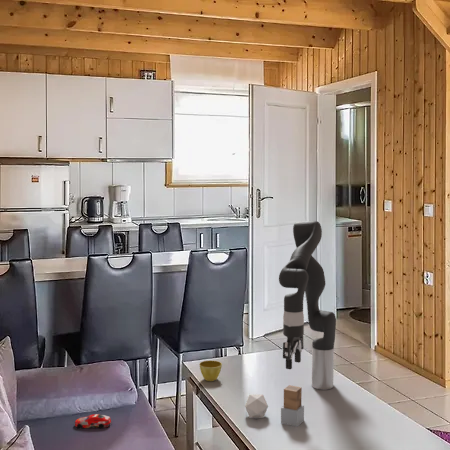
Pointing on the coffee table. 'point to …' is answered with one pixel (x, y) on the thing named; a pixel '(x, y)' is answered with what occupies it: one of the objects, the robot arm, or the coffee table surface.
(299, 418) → the grey block
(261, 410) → the die
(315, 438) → the coffee table surface
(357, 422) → the coffee table surface
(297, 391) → the walnut block
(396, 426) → the coffee table surface
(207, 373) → the flower pot
